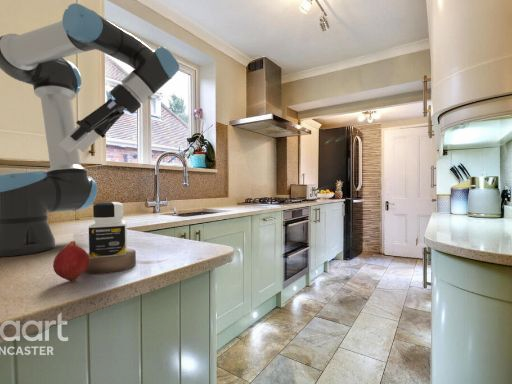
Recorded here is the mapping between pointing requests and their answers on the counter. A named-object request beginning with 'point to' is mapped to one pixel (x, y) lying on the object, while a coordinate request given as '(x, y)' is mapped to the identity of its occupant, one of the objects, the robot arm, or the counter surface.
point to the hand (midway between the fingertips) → (72, 148)
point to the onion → (71, 262)
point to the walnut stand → (112, 263)
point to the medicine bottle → (107, 231)
